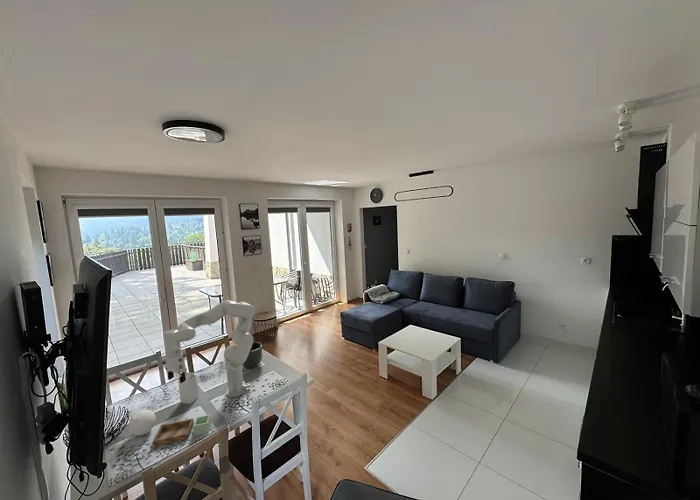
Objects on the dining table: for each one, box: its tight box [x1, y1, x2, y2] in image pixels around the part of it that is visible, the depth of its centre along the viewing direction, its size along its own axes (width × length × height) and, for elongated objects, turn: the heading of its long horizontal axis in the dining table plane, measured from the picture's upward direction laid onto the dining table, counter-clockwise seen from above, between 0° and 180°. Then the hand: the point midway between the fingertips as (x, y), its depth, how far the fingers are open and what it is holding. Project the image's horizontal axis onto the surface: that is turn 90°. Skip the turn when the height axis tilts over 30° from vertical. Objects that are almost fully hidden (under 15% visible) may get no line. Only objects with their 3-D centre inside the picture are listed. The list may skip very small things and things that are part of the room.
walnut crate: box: [152, 418, 195, 448], centre depth 154 cm, size 16×12×3 cm
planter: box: [242, 341, 263, 370], centre depth 220 cm, size 17×17×16 cm
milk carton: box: [177, 371, 199, 405], centre depth 182 cm, size 7×7×19 cm
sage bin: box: [192, 414, 212, 437], centre depth 157 cm, size 7×7×6 cm
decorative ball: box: [128, 409, 157, 437], centre depth 156 cm, size 12×12×12 cm
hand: (176, 380), depth 164 cm, fingers open, 9 cm apart
